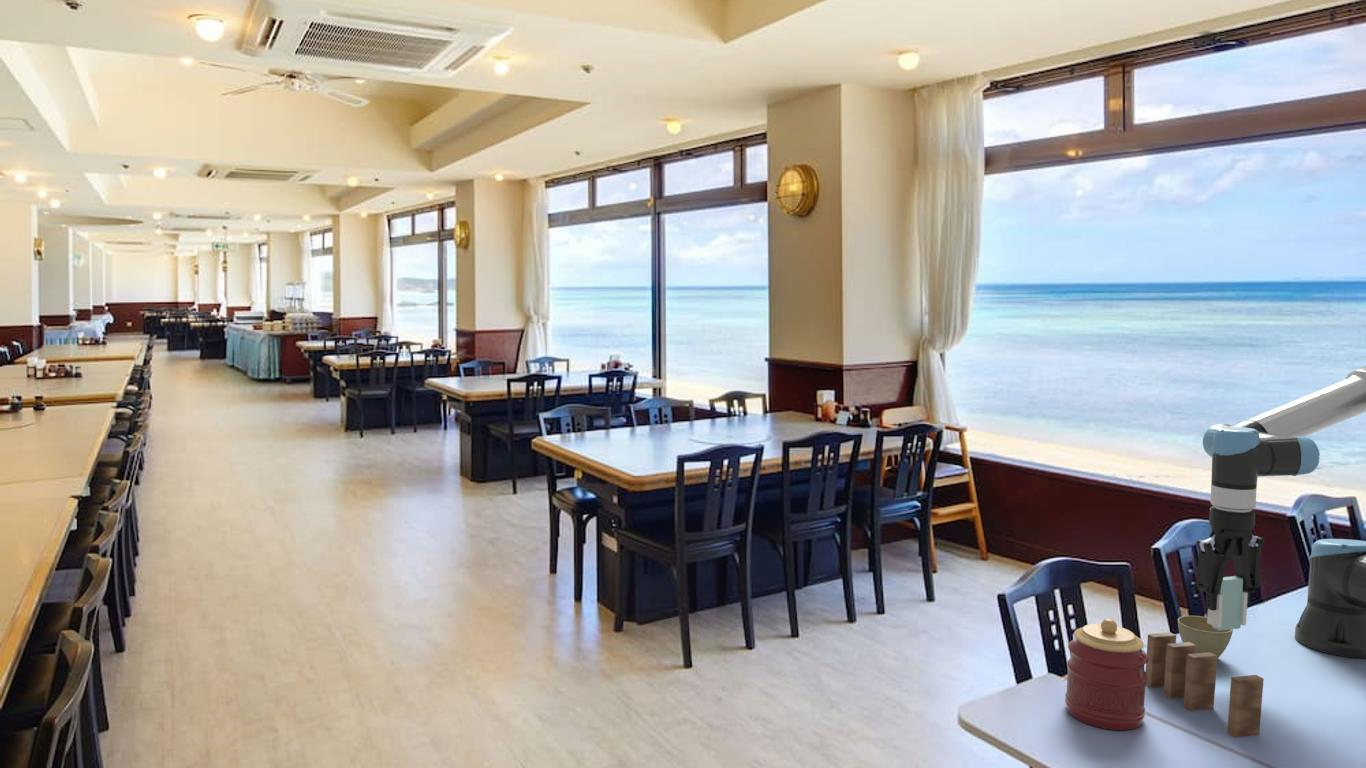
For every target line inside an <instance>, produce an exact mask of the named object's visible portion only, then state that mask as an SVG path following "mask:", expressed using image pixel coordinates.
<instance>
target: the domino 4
mask: <svg viewBox="0 0 1366 768" xmlns="http://www.w3.org/2000/svg"><path fill="white" fill-rule="evenodd" d="M1242 589H1243V578H1240V577H1238V576H1235V575H1233V576H1224V577H1223V581H1222V584H1221V588H1220V592H1219V594H1221V595H1223V604H1222V623H1221V628H1217V627H1215V626H1212V628H1214V629H1216V630H1218V631H1220V630H1229V629H1233V630H1237V629H1241V626H1242V625H1241V605H1242Z"/></svg>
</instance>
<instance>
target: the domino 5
mask: <svg viewBox="0 0 1366 768" xmlns="http://www.w3.org/2000/svg"><path fill="white" fill-rule="evenodd" d="M1263 691H1264V677H1261V676H1259V675H1257V674H1250V675H1240V676H1231V677H1230V689H1229V702H1228V703H1229V704H1228V717H1227V729H1226V734H1228V735H1230V736H1232V737H1233V738H1241V737H1250V736H1259V735H1260V731H1261V728H1260V727H1261V718H1262V705H1263Z"/></svg>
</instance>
